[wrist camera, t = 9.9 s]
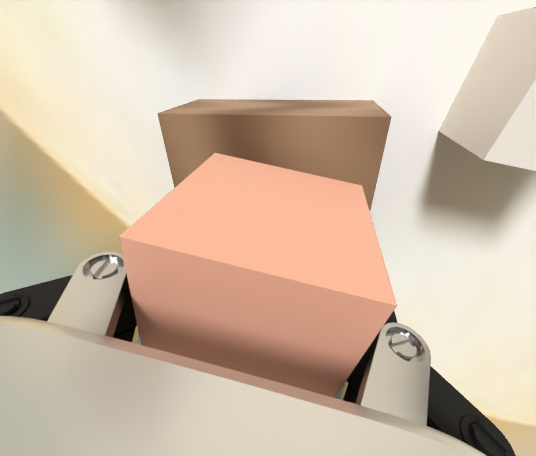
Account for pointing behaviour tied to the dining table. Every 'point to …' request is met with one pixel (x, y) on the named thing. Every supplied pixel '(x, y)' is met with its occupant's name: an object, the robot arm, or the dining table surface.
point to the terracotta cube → (260, 273)
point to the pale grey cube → (500, 96)
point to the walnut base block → (281, 136)
